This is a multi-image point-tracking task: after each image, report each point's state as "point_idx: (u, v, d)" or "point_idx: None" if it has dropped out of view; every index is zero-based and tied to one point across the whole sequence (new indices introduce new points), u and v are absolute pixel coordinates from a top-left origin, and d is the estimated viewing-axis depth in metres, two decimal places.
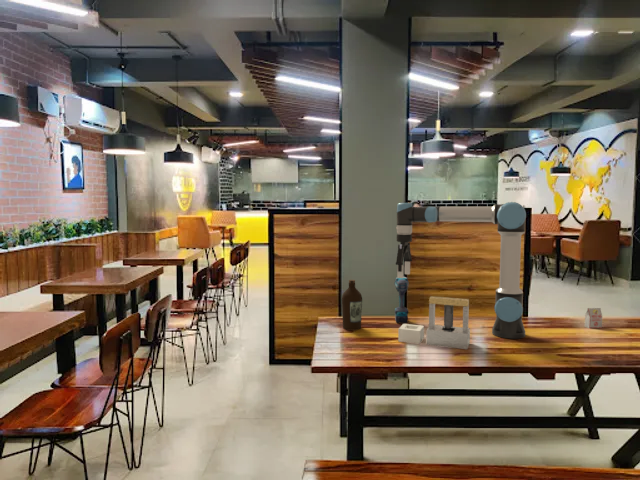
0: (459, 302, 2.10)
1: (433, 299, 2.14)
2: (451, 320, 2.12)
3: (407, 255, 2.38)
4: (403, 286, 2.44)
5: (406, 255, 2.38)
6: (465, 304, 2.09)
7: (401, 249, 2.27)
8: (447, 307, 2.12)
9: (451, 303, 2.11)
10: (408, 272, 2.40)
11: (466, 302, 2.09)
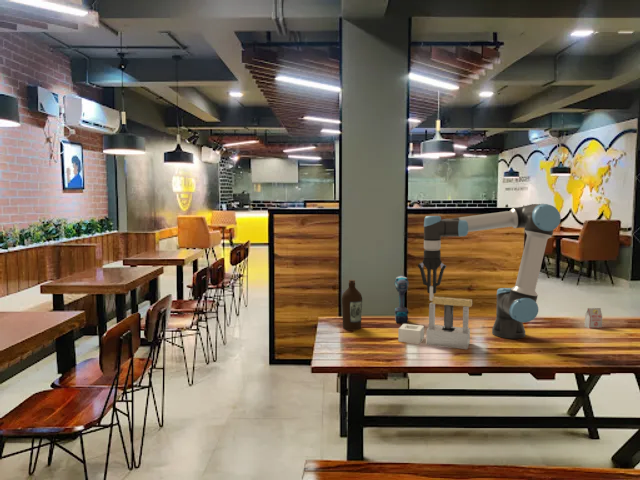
0: (463, 302, 2.09)
1: (436, 299, 2.14)
2: (451, 320, 2.12)
3: None
4: (403, 286, 2.44)
5: None
6: (468, 304, 2.08)
7: None
8: (447, 307, 2.12)
9: (454, 303, 2.11)
10: None
11: (469, 302, 2.08)
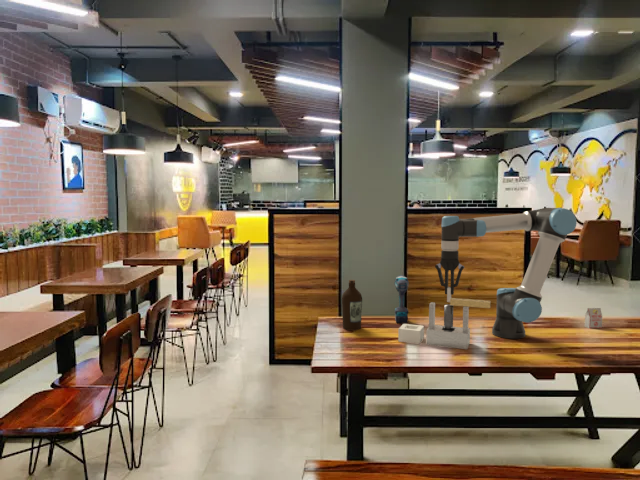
0: (481, 304, 2.06)
1: (454, 301, 2.11)
2: (451, 320, 2.12)
3: None
4: (403, 286, 2.44)
5: (451, 277, 2.12)
6: (487, 306, 2.05)
7: None
8: (447, 307, 2.12)
9: (473, 305, 2.07)
10: None
11: (488, 304, 2.05)
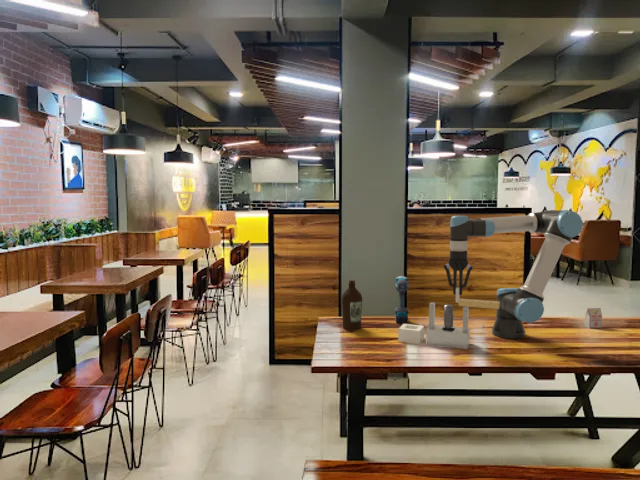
0: (490, 304, 2.05)
1: (463, 301, 2.09)
2: (451, 320, 2.12)
3: None
4: (403, 286, 2.44)
5: None
6: (496, 306, 2.04)
7: None
8: (447, 307, 2.12)
9: (482, 305, 2.06)
10: None
11: (497, 304, 2.03)
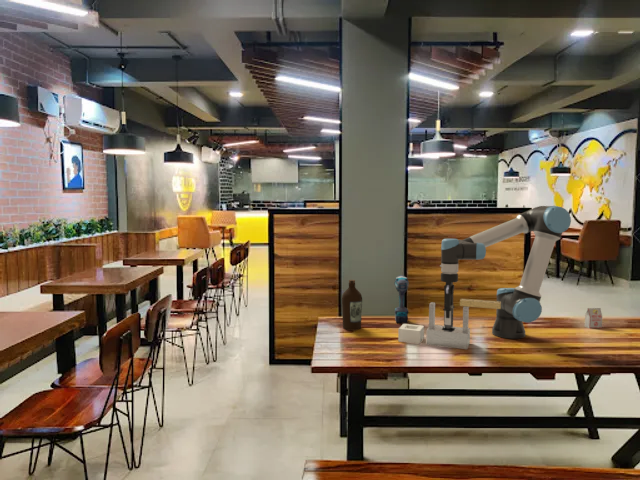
0: (491, 304, 2.04)
1: (464, 301, 2.09)
2: (451, 320, 2.12)
3: (450, 298, 2.15)
4: (403, 286, 2.44)
5: None
6: (498, 307, 2.03)
7: (448, 294, 2.08)
8: None
9: (483, 306, 2.06)
10: None
11: (499, 305, 2.03)
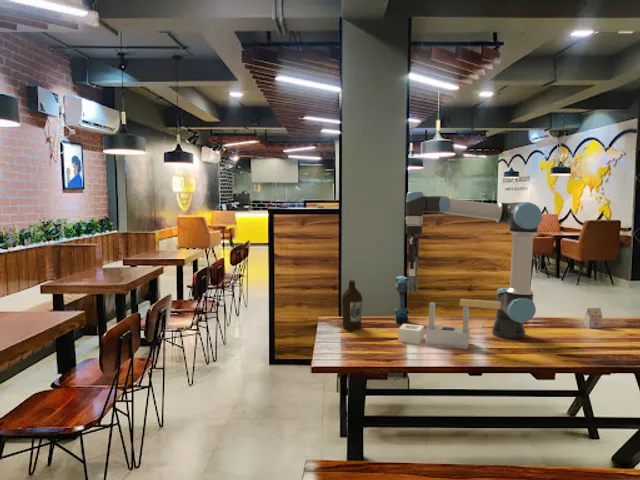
0: (491, 304, 2.04)
1: (464, 301, 2.09)
2: (415, 271, 2.17)
3: (415, 251, 2.20)
4: (403, 286, 2.44)
5: (414, 251, 2.20)
6: (498, 307, 2.03)
7: (412, 245, 2.12)
8: None
9: (483, 306, 2.06)
10: None
11: (499, 305, 2.03)
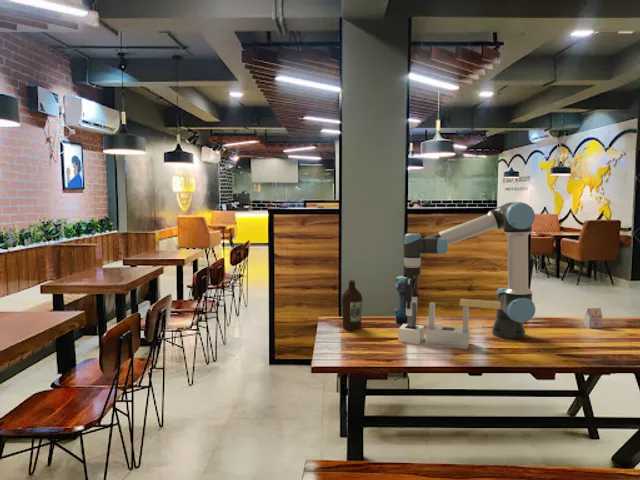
0: (491, 304, 2.04)
1: (464, 301, 2.09)
2: (414, 317, 2.19)
3: (414, 289, 2.23)
4: (403, 286, 2.44)
5: (413, 289, 2.24)
6: (498, 307, 2.03)
7: (409, 285, 2.13)
8: None
9: (483, 306, 2.06)
10: None
11: (499, 305, 2.03)
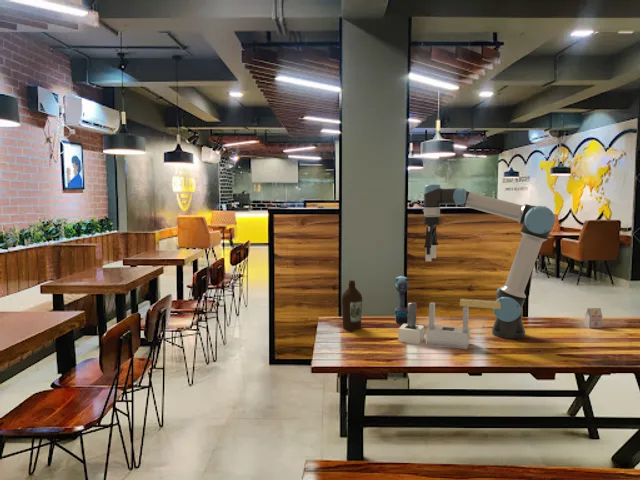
0: (491, 304, 2.04)
1: (464, 301, 2.09)
2: (414, 317, 2.19)
3: (434, 238, 2.33)
4: (403, 286, 2.44)
5: (433, 238, 2.34)
6: (498, 307, 2.03)
7: (429, 231, 2.22)
8: (410, 305, 2.19)
9: (483, 306, 2.06)
10: (434, 256, 2.36)
11: (499, 305, 2.03)
